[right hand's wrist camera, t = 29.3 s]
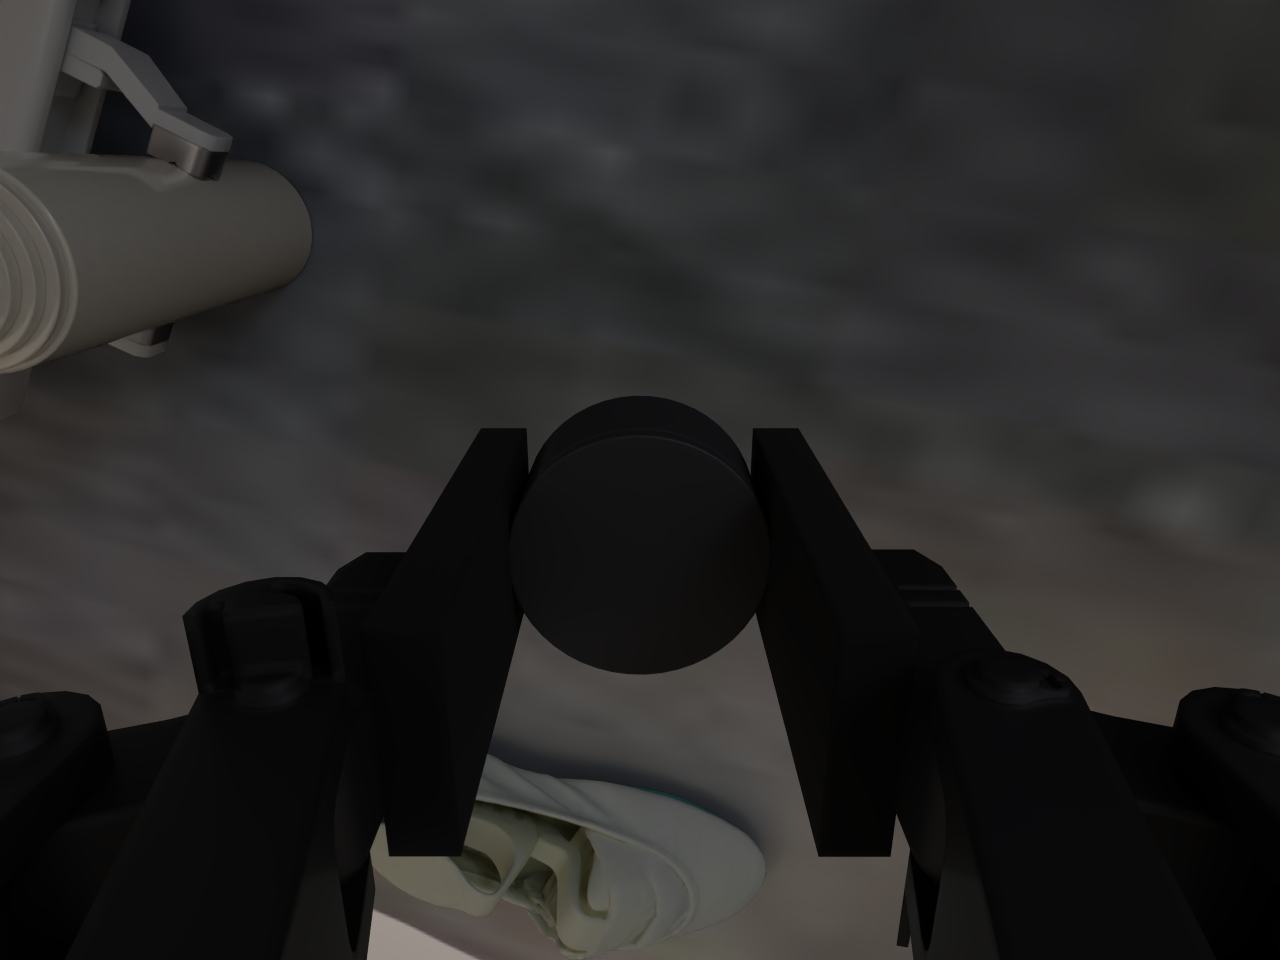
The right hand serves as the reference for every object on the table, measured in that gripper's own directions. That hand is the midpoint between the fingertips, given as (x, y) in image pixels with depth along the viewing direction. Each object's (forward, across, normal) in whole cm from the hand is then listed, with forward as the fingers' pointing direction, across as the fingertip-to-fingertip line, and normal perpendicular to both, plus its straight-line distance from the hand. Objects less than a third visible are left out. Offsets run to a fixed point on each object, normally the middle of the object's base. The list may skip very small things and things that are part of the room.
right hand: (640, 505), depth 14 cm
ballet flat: (+23, +5, +26) cm, 35 cm away
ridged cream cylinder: (+23, +16, -3) cm, 28 cm away
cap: (-2, 0, 0) cm, 2 cm away
